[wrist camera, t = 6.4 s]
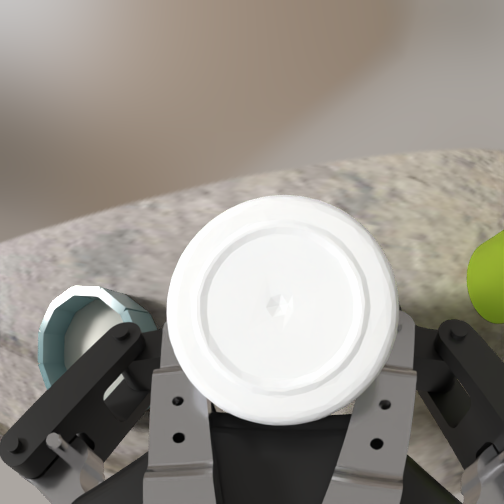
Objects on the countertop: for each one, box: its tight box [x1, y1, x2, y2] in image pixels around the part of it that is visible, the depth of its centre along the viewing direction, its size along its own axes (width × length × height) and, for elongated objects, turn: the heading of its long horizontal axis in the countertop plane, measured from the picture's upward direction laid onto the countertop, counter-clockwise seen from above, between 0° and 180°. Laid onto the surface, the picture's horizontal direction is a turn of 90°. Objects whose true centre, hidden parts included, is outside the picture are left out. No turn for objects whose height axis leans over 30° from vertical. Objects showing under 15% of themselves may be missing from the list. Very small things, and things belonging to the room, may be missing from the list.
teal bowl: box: [38, 286, 157, 409], centre depth 18 cm, size 9×9×3 cm
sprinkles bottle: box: [167, 195, 399, 425], centre depth 12 cm, size 5×5×13 cm
